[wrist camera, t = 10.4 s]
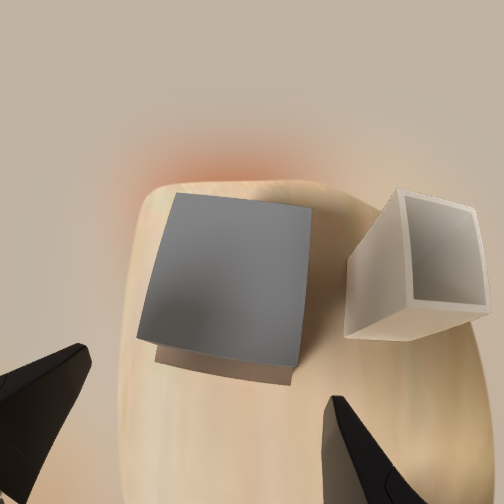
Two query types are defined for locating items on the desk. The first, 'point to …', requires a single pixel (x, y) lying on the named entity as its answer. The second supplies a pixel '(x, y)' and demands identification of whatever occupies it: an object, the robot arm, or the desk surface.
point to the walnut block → (224, 367)
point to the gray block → (230, 280)
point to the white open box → (416, 271)
